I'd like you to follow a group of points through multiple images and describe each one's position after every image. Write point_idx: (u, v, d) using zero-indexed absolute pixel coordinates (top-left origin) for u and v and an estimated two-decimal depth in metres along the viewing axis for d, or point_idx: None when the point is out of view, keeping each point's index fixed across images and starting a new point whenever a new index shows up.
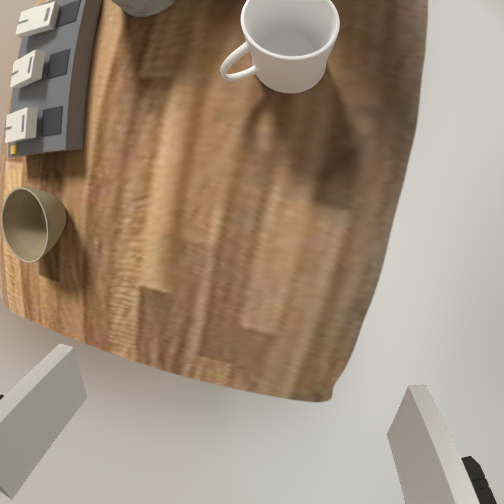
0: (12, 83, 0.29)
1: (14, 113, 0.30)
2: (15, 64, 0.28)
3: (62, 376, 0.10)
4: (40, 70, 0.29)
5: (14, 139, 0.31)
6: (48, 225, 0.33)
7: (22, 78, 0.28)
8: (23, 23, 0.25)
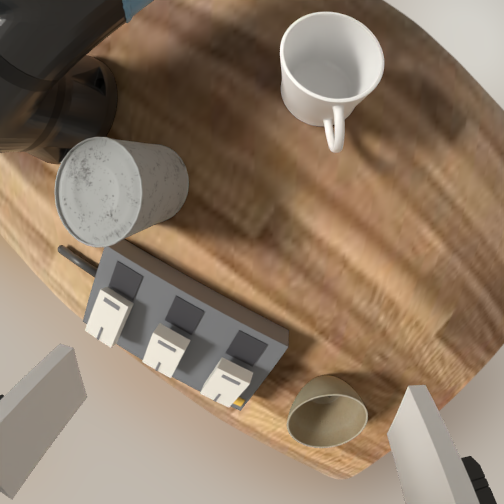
0: (168, 373, 0.36)
1: (208, 384, 0.35)
2: (147, 361, 0.35)
3: (62, 376, 0.10)
4: (180, 337, 0.34)
5: (237, 396, 0.35)
6: (351, 396, 0.32)
7: (175, 360, 0.34)
8: (102, 333, 0.34)
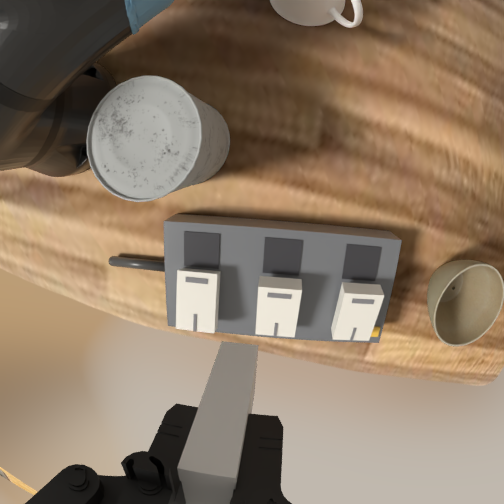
0: (290, 332, 0.31)
1: (339, 322, 0.30)
2: (261, 329, 0.32)
3: None
4: (289, 280, 0.30)
5: (374, 319, 0.30)
6: (482, 263, 0.26)
7: (294, 309, 0.30)
8: (198, 321, 0.31)
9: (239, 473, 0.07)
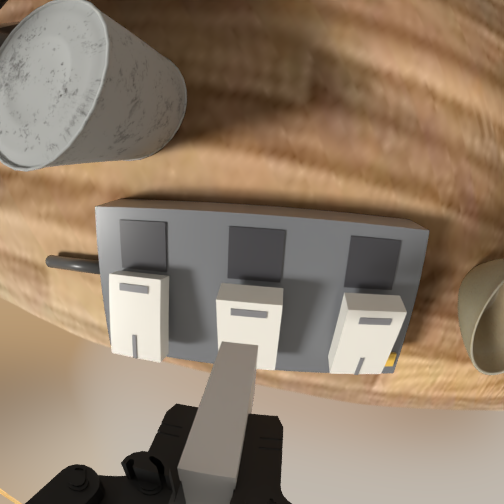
0: (268, 364, 0.21)
1: (339, 350, 0.20)
2: None
3: None
4: (265, 289, 0.20)
5: (391, 346, 0.20)
6: None
7: (272, 332, 0.20)
8: (139, 344, 0.21)
9: (239, 473, 0.07)
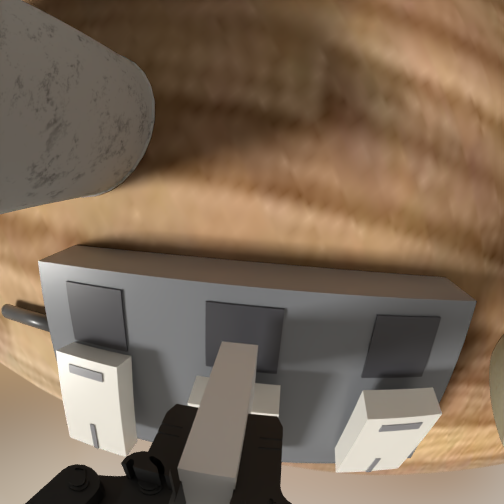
0: None
1: (350, 455, 0.14)
2: None
3: None
4: (255, 388, 0.14)
5: (414, 445, 0.13)
6: None
7: None
8: (99, 435, 0.14)
9: (239, 473, 0.07)
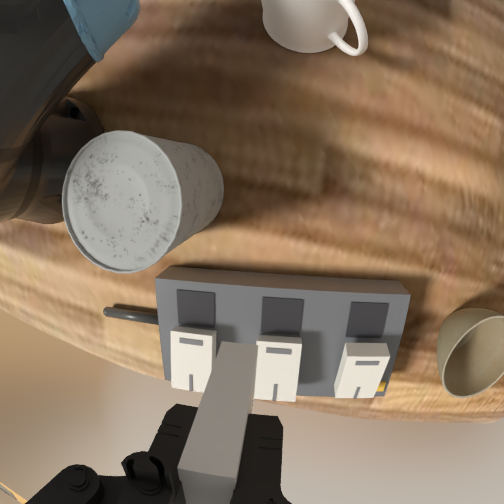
0: (290, 395, 0.28)
1: (342, 382, 0.27)
2: (259, 392, 0.28)
3: None
4: (289, 337, 0.29)
5: (379, 379, 0.27)
6: (496, 315, 0.23)
7: (294, 367, 0.27)
8: (194, 381, 0.28)
9: (239, 473, 0.07)
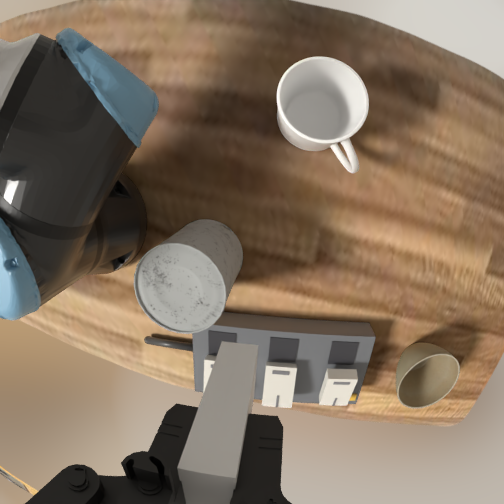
0: (288, 403, 0.39)
1: (324, 395, 0.39)
2: (266, 401, 0.39)
3: None
4: (288, 363, 0.40)
5: (351, 393, 0.38)
6: (440, 353, 0.35)
7: (291, 383, 0.39)
8: None
9: (239, 473, 0.07)
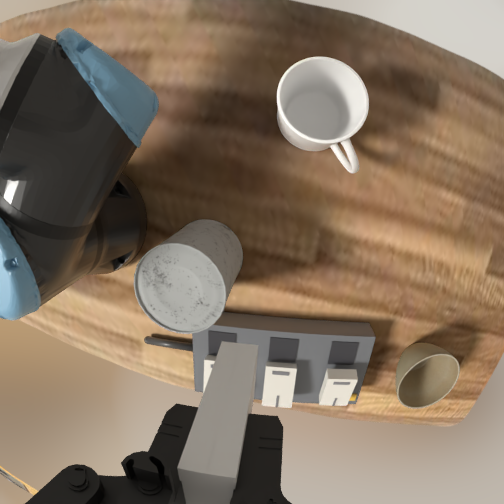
0: (288, 403, 0.39)
1: (324, 395, 0.39)
2: (266, 401, 0.39)
3: None
4: (287, 364, 0.40)
5: (350, 393, 0.38)
6: (440, 353, 0.35)
7: (291, 384, 0.39)
8: None
9: (239, 473, 0.07)
